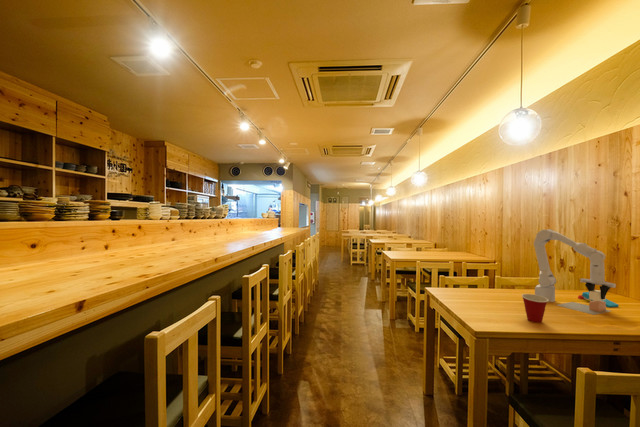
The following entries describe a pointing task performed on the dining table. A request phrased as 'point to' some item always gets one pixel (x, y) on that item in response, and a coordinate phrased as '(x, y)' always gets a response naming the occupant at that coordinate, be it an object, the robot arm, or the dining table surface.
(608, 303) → the teal bar
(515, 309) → the dining table surface
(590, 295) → the cream brick
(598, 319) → the dining table surface
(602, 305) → the terracotta base brick
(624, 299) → the dining table surface
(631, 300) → the dining table surface
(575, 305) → the slate baseplate
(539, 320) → the plastic cup
